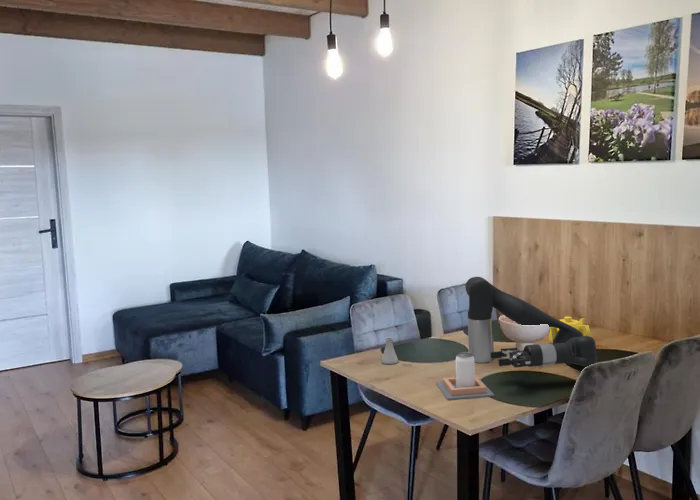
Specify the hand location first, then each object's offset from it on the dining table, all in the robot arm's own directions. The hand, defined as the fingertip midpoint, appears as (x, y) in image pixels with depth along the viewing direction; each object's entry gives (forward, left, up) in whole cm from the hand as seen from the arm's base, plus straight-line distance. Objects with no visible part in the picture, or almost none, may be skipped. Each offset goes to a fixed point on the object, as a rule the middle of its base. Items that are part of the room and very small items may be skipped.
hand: (494, 359), depth 210 cm
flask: (+8, -48, -11) cm, 50 cm away
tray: (+9, -6, -10) cm, 15 cm away
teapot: (-62, -14, -11) cm, 64 cm away
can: (+9, -5, -10) cm, 14 cm away
